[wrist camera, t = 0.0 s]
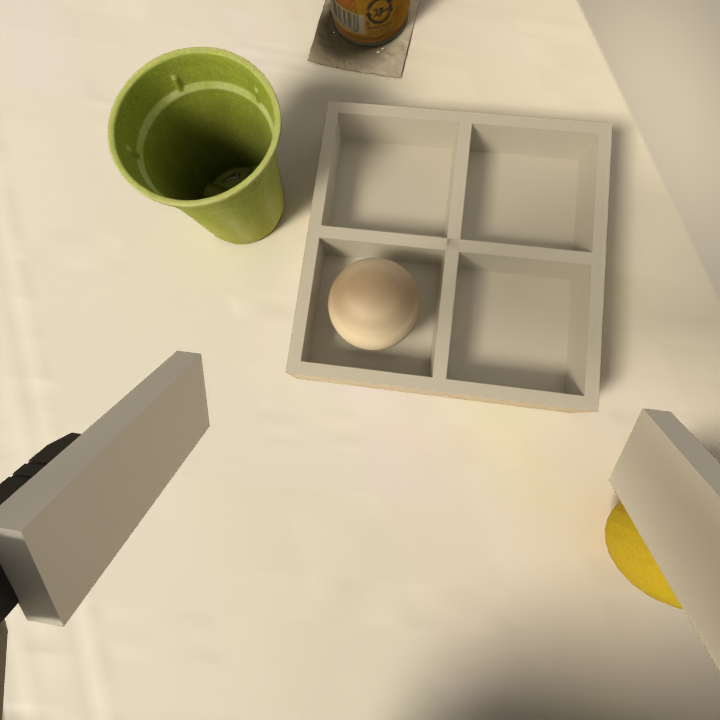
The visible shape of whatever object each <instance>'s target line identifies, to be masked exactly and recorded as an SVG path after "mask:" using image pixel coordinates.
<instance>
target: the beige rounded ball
mask: <svg viewBox="0 0 720 720" xmlns="http://www.w3.org/2000/svg"><path fill="white" fill-rule="evenodd" d="M328 310H329V315H330V318H331V321H332V324H333V326H334V328H335V329H336V331H337V332H338V333H339V334H340V336H341V337H342V338H343V339H345V340H346V341H347V342H348V343H350V344H352V345H354V346H356V347H358V348H361V349H365V350H383V349H387V348H390V347H392V346H394V345H396V344H398V343H400V342H401V341H402V340H404V339H405V338H406V337H407V336H408V335H409V333H410V332H411V331H412V329H413V328H414V326H415V324H416V322H417V319H418V316H419V312H420V295H419V291H418V288H417V286H416V283H415V281H414V280H413V278H412V277H411V275H410V274H409V273H408V272H407V271H406V270H405V269H404V268H403V267H401V266H400V265H398V264H397V263H395V262H393V261H391V260H387V259H384V258H365V259H361V260H358V261H356V262H354V263H352V264H350V265H349V266H347V267H346V268H345V269H344V270H343V271H342V272H341V273H340V274H339V275H338V276H337V278H336V279H335V281H334V283H333V285H332V287H331V290H330V294H329V299H328Z"/></svg>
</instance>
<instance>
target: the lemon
mask: <svg viewBox="0 0 720 720" xmlns="http://www.w3.org/2000/svg"><path fill="white" fill-rule="evenodd" d="M605 541H606V545H607V548H608V551H609V554H610V556H611V558H612V560H613V561H614V563H615V565H616V566H617V568H618V569H619V570H620V571H621V572H622V574H623V575H624V576H625V577H626V578H627V579H628V580H629V581H630V582H631V583H632V584H633V585H634V586H636V587H637V588H639V589H640V590H642V591H643V592H644V593H646V594H647V595H649V596H650V597H652V598H654V599H656V600H658V601H661V602H663V603H666V604H668V605H671V606H673V607H676V608H679V609H683V608H682V606H681V605H680V603H679V601H678V599H677V598H676V596H675V594H674V592H673V591H672V589H671V587H670V585H669V584H668V582H667V580H666V579H665V577H664V575H663V573H662V572H661V570H660V568H659V566H658V565H657V563H656V561H655V560H654V558H653V556H652V554H651V553H650V551H649V549H648V547H647V546H646V544H645V542H644V540H643V539H642V537H641V535H640V534H639V532H638V530H637V528H636V527H635V525H634V523H633V521H632V520H631V518H630V516H629V515H628V513H627V511H626V509H625V508H624V506H623V504H622V502H620V503H619V504H618V505H617V506H616V507H615V508H614V509H613V510H612V511H611V513H610V515H609V517H608V519H607V523H606V528H605Z"/></svg>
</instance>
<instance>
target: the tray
mask: <svg viewBox="0 0 720 720" xmlns="http://www.w3.org/2000/svg"><path fill="white" fill-rule="evenodd" d="M611 141H612V123H603V122H590V121H578V120H565V119H552V118H540V117H527V116H515V115H502V114H489V113H477V112H464V111H451V110H439V109H426V108H414V107H401V106H388V105H376V104H363V103H350V102H338V101H328V104H327V110H326V116H325V123H324V129H323V136H322V142H321V149H320V155H319V161H318V168H317V174H316V181H315V187H314V194H313V200H312V206H311V213H310V219H309V226H308V232H307V238H306V245H305V251H304V258H303V264H302V271H301V277H300V283H299V290H298V296H297V303H296V309H295V316H294V322H293V328H292V335H291V341H290V348H289V354H288V360H287V367H286V373H287V374H289V375H291V376H293V377H295V378H297V379H305V380H313V381H321V382H329V383H337V384H345V385H353V386H361V387H369V388H377V389H385V390H393V391H401V392H409V393H417V394H424V395H432V396H440V397H448V398H456V399H464V400H472V401H480V402H488V403H496V404H504V405H512V406H520V407H528V408H536V409H544V410H552V411H560V412H568V413H580V412H598V405H599V384H600V364H601V344H602V323H603V303H604V283H605V263H606V242H607V222H608V202H609V181H610V161H611ZM365 258H384V259H387V260H391V261H393V262H395V263H397V264H398V265H400V266H401V267H403V268H404V269H405V270H406V271H407V272H408V273H409V274H410V275H411V277H412V278H413V280H414V281H415V283H416V286H417V288H418V291H419V295H420V312H419V316H418V319H417V322H416V324H415V326H414V328H413V329H412V331H411V332H410V333H409V335H408V336H407V337H406V338H405V339H404V340H402V341H401V342H400V343H398V344H396V345H394V346H392V347H390V348H387V349H383V350H365V349H361V348H358V347H356V346H354V345H352V344H350V343H348V342H347V341H346V340H345V339H343V338H342V337H341V336H340V334H339V333H338V332H337V331H336V329H335V328H334V326H333V324H332V321H331V318H330V315H329V310H328V299H329V294H330V290H331V287H332V285H333V283H334V281H335V279H336V278H337V276H338V275H339V274H340V273H341V272H342V271H343V270H344V269H345V268H346V267H347V266H349V265H350V264H352V263H354V262H356V261H358V260H361V259H365Z"/></svg>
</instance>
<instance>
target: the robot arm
mask: <svg viewBox="0 0 720 720" xmlns="http://www.w3.org/2000/svg"><path fill="white" fill-rule="evenodd" d="M209 426H210V425H209V416H208V408H207V399H206V391H205V382H204V374H203V366H202V357H201V354H198V353H190V352H182V351H177V352H175V353H174V354H173V355H172V356H171V357H170V358H169V359H167V360H166V361H165V362H164V363H163V364H162V365H160V366H159V367H158V368H157V369H156V370H155V371H154V372H152V373H151V374H150V375H149V376H148V377H147V378H146V379H144V380H143V381H142V382H141V383H140V384H139V385H138V386H136V387H135V388H134V389H133V390H132V391H131V392H129V393H128V394H127V395H126V396H125V397H124V398H123V399H121V400H120V401H119V402H118V403H117V404H116V405H115V406H113V407H112V408H111V409H110V410H109V411H108V412H107V413H105V414H104V415H103V416H102V417H101V418H100V419H98V420H97V421H96V422H95V423H94V424H93V425H92V426H90V427H89V428H88V429H87V430H86V431H85V432H84V433H82V434H77V433H70V434H68V435H66V436H64V437H62V438H60V439H58V440H57V441H55V442H53V443H51V444H49V445H47V446H46V447H45V448H43V449H42V450H41V451H40V452H39V453H37V454H36V455H35V456H34V457H32V458H31V459H30V460H29V463H28V464H24V465H23V466H21V467H20V468H19V469H18V470H17V471H15V472H14V473H13V476H12V477H8V478H7V479H6V480H4V481H3V482H2V483H1V484H0V720H2V712H3V696H4V680H5V665H6V649H7V633H8V630H7V626H6V622H5V620H4V619H5V617H6V616H7V615H8V614H9V613H10V612H11V611H12V609H13V608H14V607H15V606H16V605H17V604H18V603H19V605H20V607H21V609H22V611H23V613H24V615H25V617H26V618H27V620H28V621H34V622H39V623H45V624H51V625H57V626H62V627H64V626H65V624H66V623H67V621H68V620H69V619H70V617H71V616H72V615H73V613H74V612H75V610H76V609H77V608H78V606H79V605H80V604H81V602H82V601H83V599H84V598H85V597H86V595H87V594H88V593H89V591H90V590H91V588H92V587H93V586H94V584H95V583H96V582H97V580H98V579H99V577H100V576H101V575H102V573H103V572H104V571H105V569H106V568H107V566H108V565H109V564H110V562H111V561H112V560H113V558H114V557H115V555H116V554H117V553H118V551H119V550H120V549H121V547H122V546H123V544H124V543H125V542H126V540H127V539H128V538H129V536H130V535H131V533H132V532H133V531H134V529H135V528H136V527H137V525H138V524H139V522H140V521H141V520H142V518H143V517H144V516H145V514H146V513H147V511H148V510H149V509H150V507H151V506H152V505H153V503H154V502H155V500H156V499H157V498H158V496H159V495H160V494H161V492H162V491H163V489H164V488H165V487H166V485H167V484H168V483H169V481H170V480H171V478H172V477H173V476H174V474H175V473H176V472H177V470H178V469H179V467H180V466H181V465H182V463H183V462H184V461H185V459H186V458H187V456H188V455H189V454H190V452H191V451H192V450H193V448H194V447H195V445H196V444H197V443H198V441H199V440H200V439H201V437H202V436H203V434H204V433H205V432H206V430H207V429H208V428H209ZM609 482H610V483H611V485H612V487H613V489H614V490H615V492H616V494H617V495H618V497H619V499H620V501H621V502H622V504H623V506H624V508H625V509H626V511H627V513H628V515H629V516H630V518H631V520H632V521H633V523H634V525H635V527H636V528H637V530H638V532H639V534H640V535H641V537H642V539H643V540H644V542H645V544H646V546H647V547H648V549H649V551H650V553H651V554H652V556H653V558H654V560H655V561H656V563H657V565H658V566H659V568H660V570H661V572H662V573H663V575H664V577H665V579H666V580H667V582H668V584H669V585H670V587H671V589H672V591H673V592H674V594H675V596H676V598H677V599H678V601H679V603H680V605H681V606H682V608H683V610H684V611H685V613H686V615H687V617H688V618H689V620H690V622H691V624H692V625H693V627H694V629H695V630H696V632H697V634H698V636H699V637H700V639H701V641H702V643H703V644H704V646H705V648H706V650H707V651H708V653H709V655H710V656H711V658H712V660H713V662H714V663H715V665H716V667H717V669H718V670H719V672H720V463H719V462H718V461H717V460H716V459H715V458H714V457H713V456H712V455H711V454H710V452H709V451H708V450H707V449H706V448H705V447H704V446H703V445H702V444H701V443H700V442H699V441H698V440H697V439H696V438H695V437H694V436H693V435H692V434H691V433H690V432H689V431H688V429H687V428H686V427H685V426H684V425H683V424H682V423H681V422H680V421H679V420H678V419H677V418H676V417H675V416H674V415H673V414H672V413H671V412H668V411H660V410H652V409H644V408H643V409H642V411H641V413H640V415H639V417H638V419H637V422H636V424H635V426H634V428H633V430H632V432H631V434H630V436H629V438H628V440H627V442H626V445H625V447H624V449H623V451H622V453H621V455H620V457H619V459H618V461H617V463H616V465H615V468H614V470H613V472H612V474H611V476H610V478H609Z"/></svg>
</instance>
